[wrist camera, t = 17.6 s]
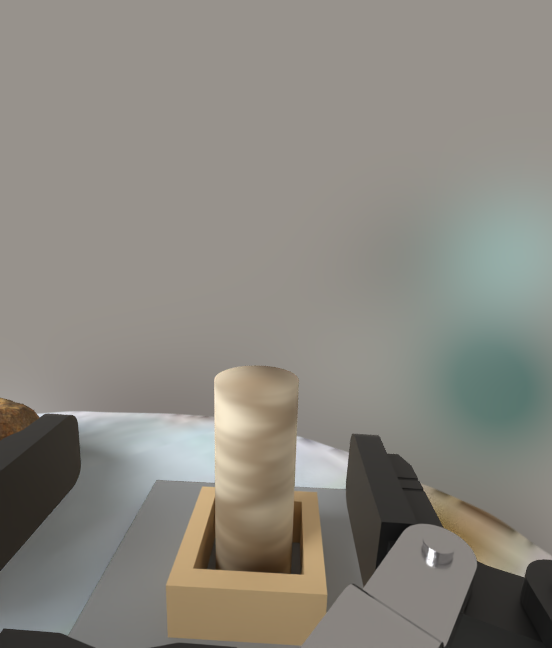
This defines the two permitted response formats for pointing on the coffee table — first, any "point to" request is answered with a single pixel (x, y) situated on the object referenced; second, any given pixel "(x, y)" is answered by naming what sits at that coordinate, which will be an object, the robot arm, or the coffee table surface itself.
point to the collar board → (217, 577)
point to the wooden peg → (255, 468)
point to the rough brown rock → (14, 417)
